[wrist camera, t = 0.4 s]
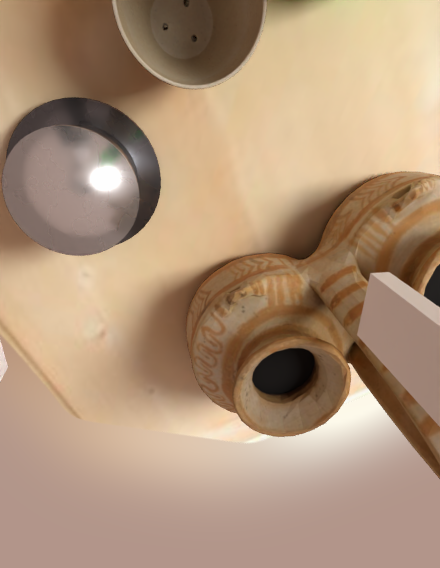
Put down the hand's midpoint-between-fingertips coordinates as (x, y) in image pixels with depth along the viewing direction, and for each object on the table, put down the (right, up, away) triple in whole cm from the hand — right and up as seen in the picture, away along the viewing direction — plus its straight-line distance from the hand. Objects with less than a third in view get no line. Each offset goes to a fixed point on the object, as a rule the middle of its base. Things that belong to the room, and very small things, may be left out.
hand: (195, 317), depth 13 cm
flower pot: (-2, +22, +17) cm, 28 cm away
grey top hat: (-11, +11, +20) cm, 26 cm away
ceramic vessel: (+12, +2, +30) cm, 33 cm away
